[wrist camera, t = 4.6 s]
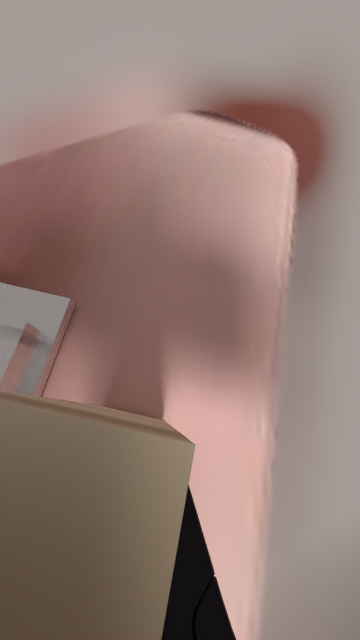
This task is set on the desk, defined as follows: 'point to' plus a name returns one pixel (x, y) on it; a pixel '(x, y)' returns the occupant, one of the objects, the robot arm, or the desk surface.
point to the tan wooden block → (87, 519)
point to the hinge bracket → (30, 337)
